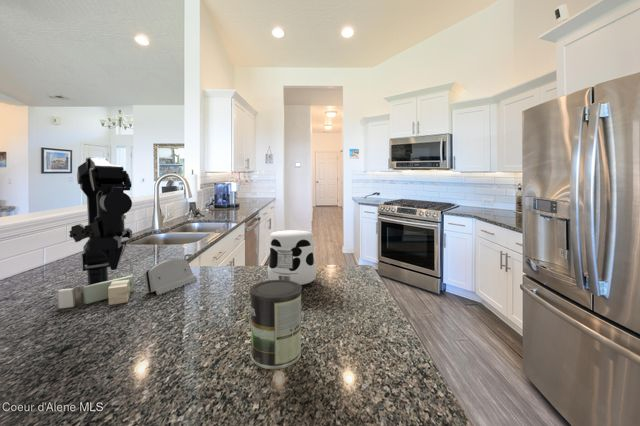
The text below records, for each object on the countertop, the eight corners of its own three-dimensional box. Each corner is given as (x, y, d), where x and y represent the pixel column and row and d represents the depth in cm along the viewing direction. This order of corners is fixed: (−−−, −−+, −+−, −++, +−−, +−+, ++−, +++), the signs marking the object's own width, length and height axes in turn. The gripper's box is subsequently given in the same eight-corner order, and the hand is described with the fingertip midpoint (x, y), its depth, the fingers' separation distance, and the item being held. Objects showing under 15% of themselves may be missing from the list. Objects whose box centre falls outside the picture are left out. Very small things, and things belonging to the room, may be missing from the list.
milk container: (305, 273, 117) (305, 228, 115) (324, 286, 101) (324, 235, 100) (262, 279, 109) (261, 231, 108) (276, 294, 94) (275, 239, 92)
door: (84, 303, 86) (83, 286, 86) (131, 290, 97) (131, 275, 97) (87, 304, 85) (86, 288, 85) (135, 291, 96) (134, 276, 95)
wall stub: (61, 306, 84) (60, 289, 83) (75, 304, 85) (74, 287, 85) (59, 308, 82) (57, 291, 82) (73, 306, 84) (72, 289, 83)
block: (113, 297, 91) (112, 281, 91) (130, 294, 93) (129, 279, 93) (108, 305, 85) (108, 288, 85) (127, 302, 87) (126, 286, 87)
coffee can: (247, 371, 55) (245, 297, 53) (254, 342, 65) (253, 280, 64) (302, 368, 55) (302, 296, 54) (301, 340, 66) (301, 278, 64)
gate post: (76, 304, 85) (75, 286, 85) (84, 303, 86) (82, 285, 86) (74, 306, 84) (72, 288, 83) (81, 305, 84) (80, 287, 84)
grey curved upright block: (157, 295, 93) (148, 265, 93) (147, 298, 94) (139, 268, 95) (198, 280, 108) (190, 254, 108) (189, 282, 110) (181, 257, 110)
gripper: (85, 210, 83) (89, 264, 85) (57, 216, 66) (62, 283, 68) (131, 209, 88) (134, 260, 89) (115, 215, 71) (119, 278, 72)
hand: (114, 269), depth 79 cm, fingers closed
